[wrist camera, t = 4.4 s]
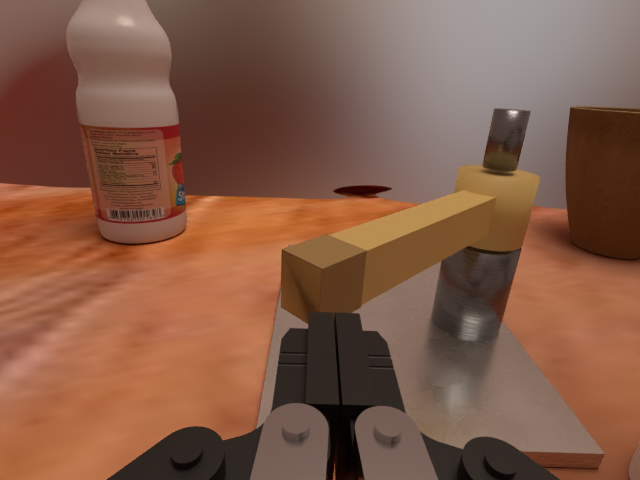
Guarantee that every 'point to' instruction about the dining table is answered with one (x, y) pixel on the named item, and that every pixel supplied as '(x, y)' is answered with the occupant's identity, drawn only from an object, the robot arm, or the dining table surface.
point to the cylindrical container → (635, 465)
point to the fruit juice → (128, 120)
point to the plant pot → (604, 180)
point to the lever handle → (407, 242)
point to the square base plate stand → (466, 346)
